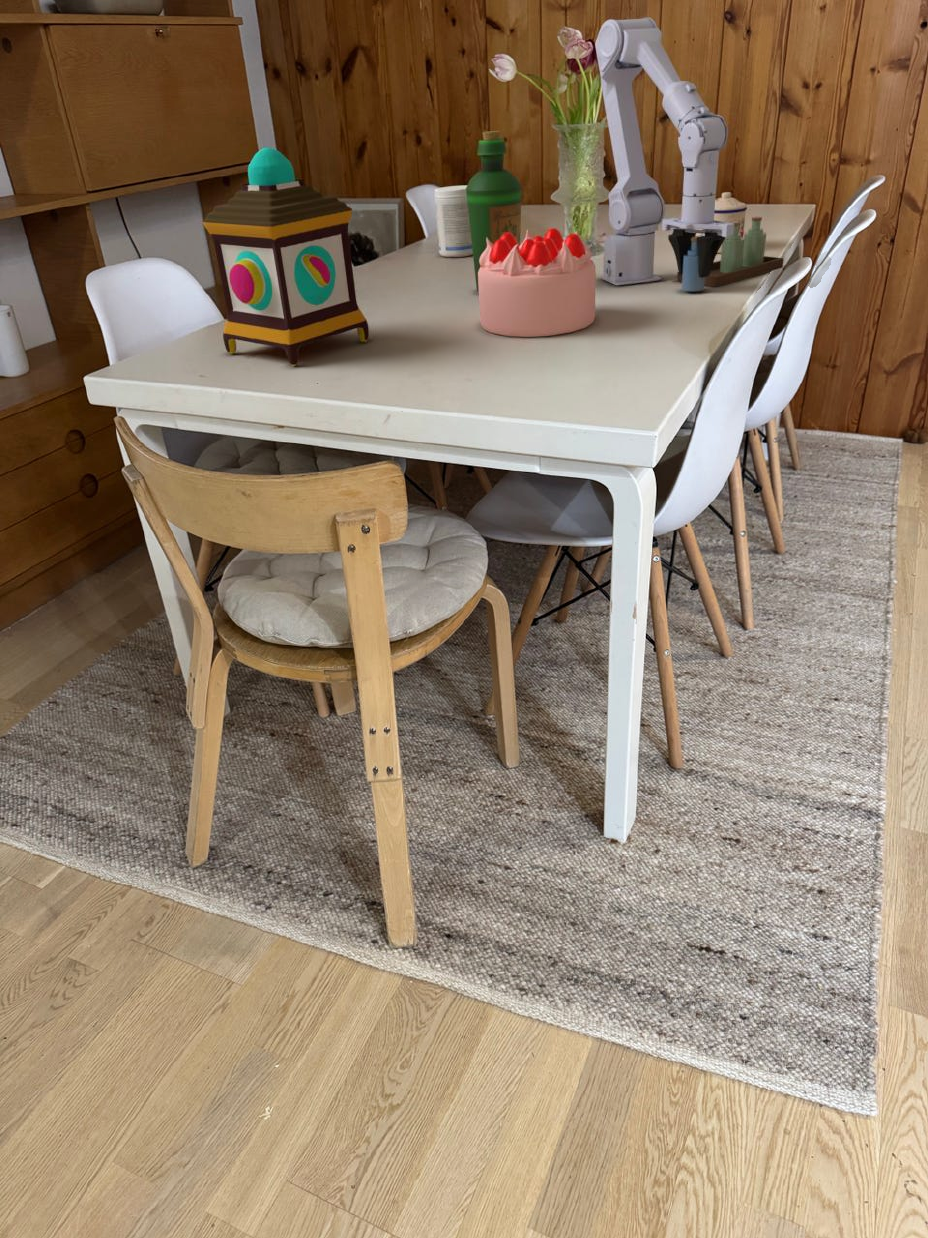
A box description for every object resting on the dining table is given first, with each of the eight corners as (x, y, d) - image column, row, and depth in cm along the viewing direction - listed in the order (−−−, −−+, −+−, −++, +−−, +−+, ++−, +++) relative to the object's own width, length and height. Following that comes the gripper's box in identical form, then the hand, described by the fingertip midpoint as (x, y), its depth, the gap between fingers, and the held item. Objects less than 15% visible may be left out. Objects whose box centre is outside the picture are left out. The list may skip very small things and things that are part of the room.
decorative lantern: (303, 327, 163) (274, 141, 148) (382, 340, 152) (360, 139, 136) (214, 355, 151) (172, 154, 135) (292, 371, 139) (257, 153, 124)
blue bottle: (694, 292, 165) (698, 239, 161) (676, 289, 168) (679, 237, 164) (709, 288, 168) (713, 236, 163) (691, 285, 170) (694, 234, 166)
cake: (464, 320, 160) (458, 234, 153) (565, 304, 166) (565, 220, 158) (507, 344, 145) (503, 250, 137) (618, 325, 150) (620, 234, 143)
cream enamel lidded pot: (737, 254, 196) (742, 195, 190) (696, 253, 200) (699, 195, 194) (750, 244, 205) (756, 187, 199) (710, 243, 209) (714, 188, 202)
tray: (715, 286, 170) (716, 276, 169) (676, 281, 176) (677, 271, 175) (782, 267, 181) (783, 257, 180) (744, 262, 187) (744, 253, 186)
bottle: (520, 296, 174) (515, 132, 160) (466, 297, 176) (456, 135, 162) (528, 284, 183) (524, 127, 168) (476, 285, 185) (468, 131, 171)
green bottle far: (754, 268, 180) (759, 219, 175) (737, 265, 182) (741, 217, 178) (767, 264, 182) (772, 216, 177) (749, 262, 185) (754, 214, 180)
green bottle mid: (733, 274, 176) (737, 224, 171) (715, 271, 179) (719, 222, 174) (746, 270, 178) (750, 221, 173) (728, 268, 181) (732, 219, 176)
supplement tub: (486, 252, 217) (483, 185, 210) (458, 259, 212) (453, 190, 204) (459, 249, 224) (455, 184, 216) (430, 256, 218) (425, 189, 211)
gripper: (652, 195, 162) (649, 274, 170) (718, 199, 153) (712, 283, 160) (678, 190, 166) (673, 267, 173) (744, 194, 156) (736, 276, 163)
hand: (693, 275), depth 167 cm, fingers closed on blue bottle, 4 cm apart
